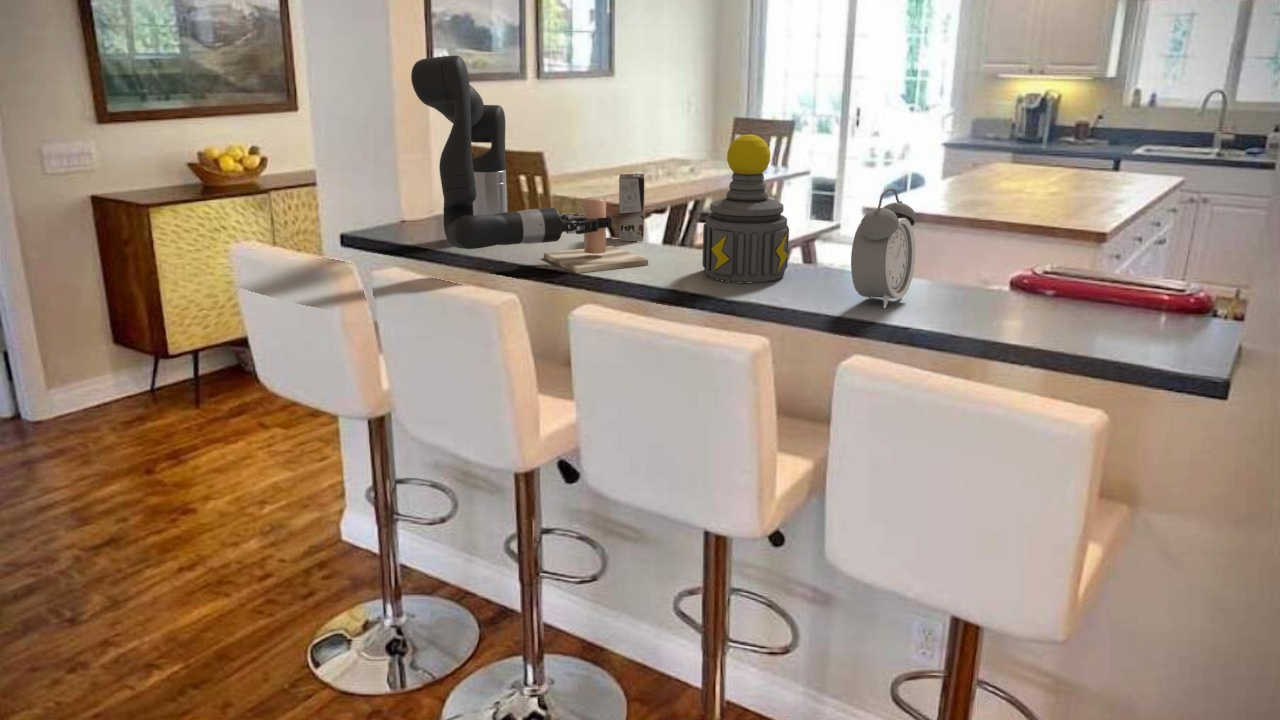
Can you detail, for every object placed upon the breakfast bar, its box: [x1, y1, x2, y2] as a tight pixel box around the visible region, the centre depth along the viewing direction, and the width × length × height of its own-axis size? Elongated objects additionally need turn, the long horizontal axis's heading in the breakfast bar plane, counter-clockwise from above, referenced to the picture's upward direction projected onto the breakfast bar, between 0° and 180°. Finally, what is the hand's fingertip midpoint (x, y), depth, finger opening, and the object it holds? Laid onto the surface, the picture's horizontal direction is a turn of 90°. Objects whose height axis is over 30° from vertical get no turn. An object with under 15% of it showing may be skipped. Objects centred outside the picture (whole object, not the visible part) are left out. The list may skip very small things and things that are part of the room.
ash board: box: [543, 245, 649, 274], centre depth 221 cm, size 18×18×1 cm
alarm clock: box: [850, 188, 917, 307], centre depth 184 cm, size 16×9×22 cm, turn 146°
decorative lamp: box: [702, 133, 790, 284], centre depth 204 cm, size 19×19×30 cm
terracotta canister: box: [583, 197, 607, 254], centre depth 218 cm, size 5×5×12 cm
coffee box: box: [618, 173, 645, 242], centre depth 245 cm, size 9×6×16 cm
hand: (604, 220), depth 219 cm, fingers closed on terracotta canister, 5 cm apart
